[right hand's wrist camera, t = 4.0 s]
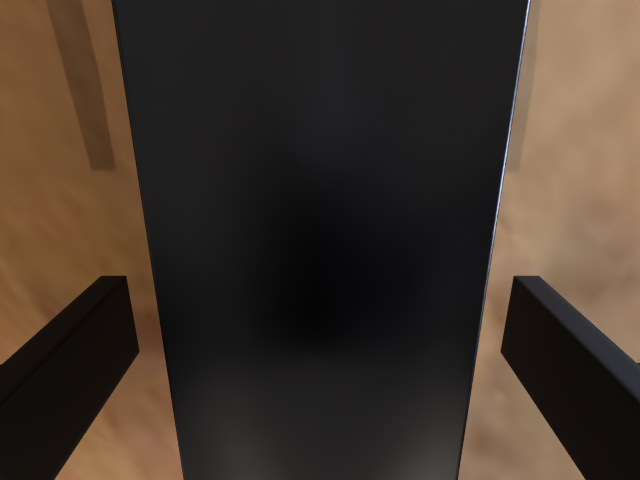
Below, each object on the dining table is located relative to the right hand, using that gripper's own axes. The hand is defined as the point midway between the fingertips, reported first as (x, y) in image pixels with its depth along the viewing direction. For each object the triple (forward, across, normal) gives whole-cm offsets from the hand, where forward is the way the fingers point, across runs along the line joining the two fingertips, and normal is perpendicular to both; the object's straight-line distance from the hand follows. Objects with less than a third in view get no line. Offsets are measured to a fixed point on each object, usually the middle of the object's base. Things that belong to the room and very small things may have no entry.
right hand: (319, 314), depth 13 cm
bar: (+1, 0, -10) cm, 10 cm away
